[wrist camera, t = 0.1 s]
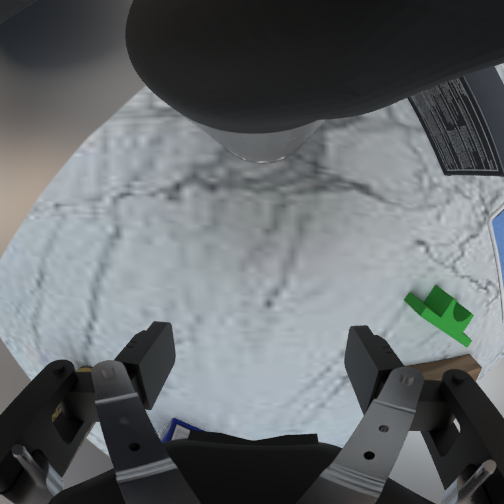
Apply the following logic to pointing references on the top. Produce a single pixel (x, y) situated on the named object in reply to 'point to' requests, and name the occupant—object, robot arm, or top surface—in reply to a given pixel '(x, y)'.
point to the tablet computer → (498, 244)
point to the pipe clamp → (443, 313)
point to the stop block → (448, 367)
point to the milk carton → (177, 430)
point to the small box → (465, 123)
